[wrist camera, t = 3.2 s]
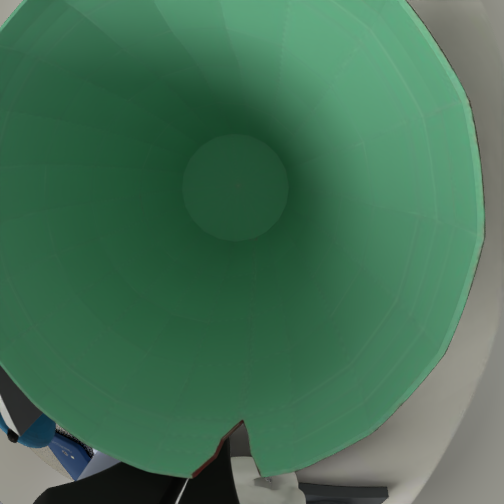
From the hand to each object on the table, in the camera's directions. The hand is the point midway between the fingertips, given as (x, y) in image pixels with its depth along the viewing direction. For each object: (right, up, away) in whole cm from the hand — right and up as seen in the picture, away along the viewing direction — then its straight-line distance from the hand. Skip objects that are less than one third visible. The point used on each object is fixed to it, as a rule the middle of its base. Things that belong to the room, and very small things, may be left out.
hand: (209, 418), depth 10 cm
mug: (+2, +11, +2) cm, 11 cm away
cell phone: (-18, -19, +12) cm, 29 cm away
